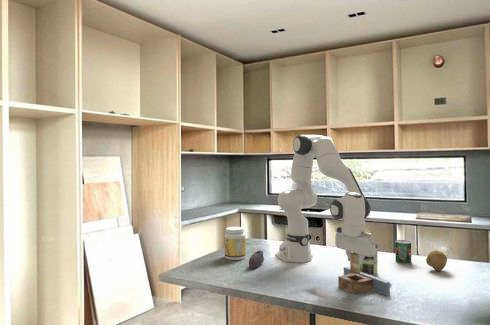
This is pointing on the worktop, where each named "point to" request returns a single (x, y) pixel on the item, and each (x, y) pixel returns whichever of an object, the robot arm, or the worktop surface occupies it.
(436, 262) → the natural sponge
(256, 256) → the perforated stone tool
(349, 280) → the block
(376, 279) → the wall
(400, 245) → the canned tomato
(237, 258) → the supplement tub
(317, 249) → the worktop surface
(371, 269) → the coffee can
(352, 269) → the dowel
